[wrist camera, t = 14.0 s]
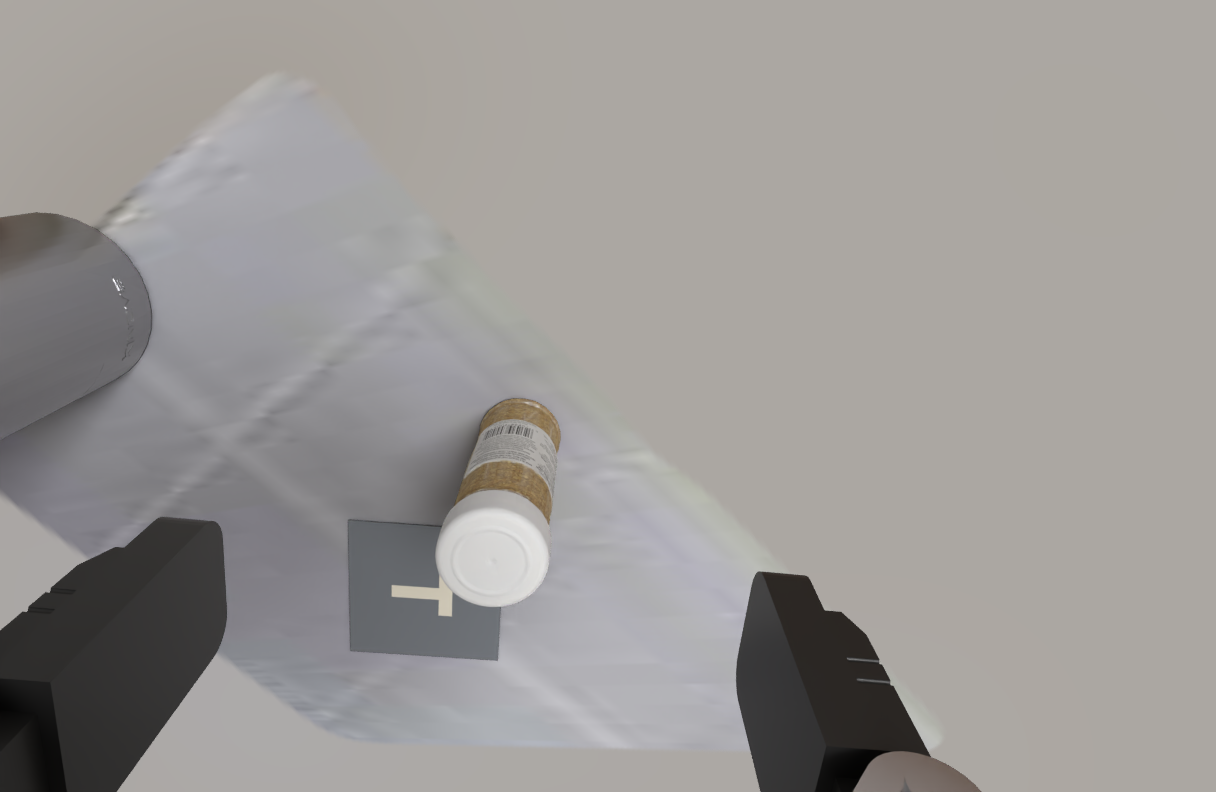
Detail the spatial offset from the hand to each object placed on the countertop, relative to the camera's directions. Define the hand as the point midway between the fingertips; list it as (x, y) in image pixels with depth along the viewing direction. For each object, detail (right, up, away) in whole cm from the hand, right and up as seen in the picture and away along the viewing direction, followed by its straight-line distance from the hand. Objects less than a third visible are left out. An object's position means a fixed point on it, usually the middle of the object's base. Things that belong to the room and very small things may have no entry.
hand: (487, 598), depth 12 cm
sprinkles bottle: (-3, +1, +32) cm, 32 cm away
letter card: (-9, -9, +35) cm, 37 cm away
